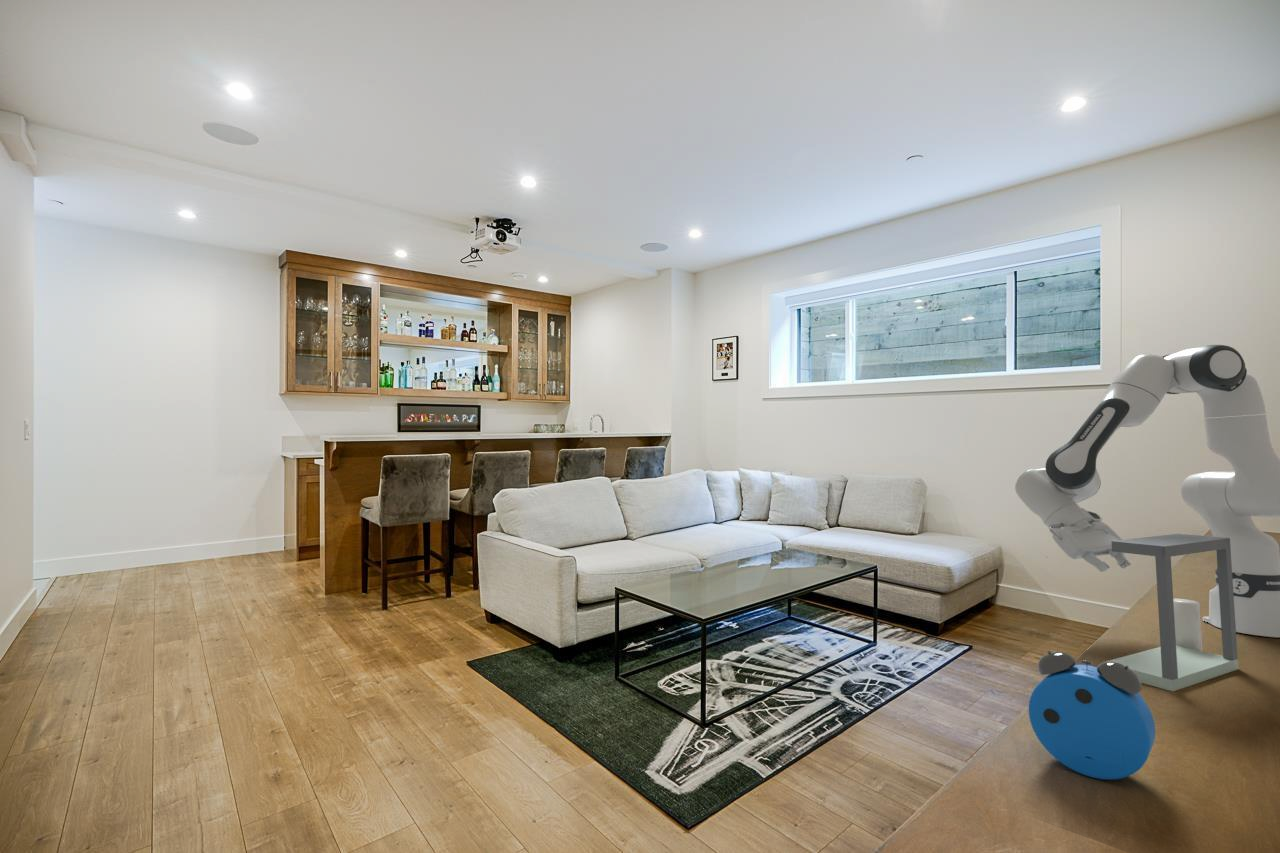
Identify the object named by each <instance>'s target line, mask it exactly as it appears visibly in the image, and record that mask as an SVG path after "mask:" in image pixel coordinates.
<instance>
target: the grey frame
mask: <svg viewBox="0 0 1280 853" xmlns="http://www.w3.org/2000/svg"><path fill="white" fill-rule="evenodd" d="M1111 543H1112V551H1113V552H1122V553H1123V554H1132V555H1141V556H1150V557H1154V558H1155V571H1156V575H1155V576H1156V590H1157V610H1158V622H1159V623H1158V624H1159V625H1158V626H1159V627H1158V628H1159V639H1160V640H1159V641H1160V645H1159V646H1157V647H1154V648H1150V649H1147V650H1143V651H1140V652H1139V651H1138V652H1136V653H1132V654H1127V655H1125V656H1121V657H1116V658H1113V659H1110V660H1108V661H1112V662H1117V663H1120V664H1123V665H1125V666H1126V665H1127V666H1128V667H1129V668H1130V669H1131V670H1132V671H1133V672H1134V673H1135V674H1136V675H1137V676H1138V677H1139V679H1140V681H1141V684H1144V685H1148V686H1152V687H1156V688H1159V689H1163V690H1167V691H1169V692H1175V691H1178V690H1183V689H1184V688H1188V687H1190V686H1193V685H1196V684H1199V683H1203V682H1205V681H1207V680H1211V679H1214V678H1217V677H1221V676H1223V675H1225V674H1229V673H1230V672H1231V673H1232V672H1234V671H1237V670H1239V660H1238V658H1239V657H1238V656H1239V654H1238V644H1237V643H1238V642H1237V641H1238V640H1237V632H1236V624H1235V609H1234V594H1233V578H1232V563H1231V548H1230V538H1223V537H1213V536H1210V535H1207V536H1206V535H1197V534H1183V533H1172V534H1165V535H1164V534H1162V535H1154V536H1147V537H1145V536H1144V537H1136V538H1126V539H1122V540H1117V541H1111ZM1212 551H1215V553H1217V556H1216V563H1217V564H1216V565H1217V566H1216V567H1217V568H1218V584H1219V599H1220V615H1221V628H1220V629H1221V631H1220V632H1221V644H1222V645H1221V646H1222V655H1221V654H1217V653H1213V652H1208V651H1205V650H1204V651H1203V650H1202V651H1199V650H1195V649H1190V648H1185V647H1181V646H1176V637H1175V620H1174V603H1173V598H1174V590H1173V589H1174V588H1173V587H1174V586H1173V575H1172V574H1173V572H1172V571H1173V570H1172V557H1177V556H1178V557H1179V556H1186V555H1192V554H1198V553H1205V552H1212ZM1217 568H1216V569H1217Z"/></svg>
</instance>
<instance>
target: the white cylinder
mask: <svg viewBox="0 0 1280 853" xmlns="http://www.w3.org/2000/svg"><path fill="white" fill-rule="evenodd" d="M1173 603H1174V620H1175V637H1176V646H1181V647H1185V648H1190V649H1195V650H1199V651H1203V640H1202V638H1203V637H1202V627H1201V626H1202V622H1201V608H1200V607H1201V606H1200V602H1198V601H1196V600H1192V599H1187V598H1185V599H1184V598H1177V597H1175V598H1174V597H1173Z"/></svg>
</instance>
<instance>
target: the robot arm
mask: <svg viewBox="0 0 1280 853" xmlns="http://www.w3.org/2000/svg"><path fill="white" fill-rule="evenodd" d="M1247 372H1248V371H1247V368H1246V362H1245V360H1244V358H1243V356H1242V355H1241V354H1240V352H1239V351H1238V350H1237V349H1236V348H1234V347H1231V346H1229V345H1224V344H1208V345H1207V344H1206V345H1204V346H1198V347H1192V348H1191V347H1190V348H1187V349H1183V350H1181V351H1178V352H1174V353H1171V354H1166V355H1164V356H1160V355H1157V354H1151V353H1149V354H1148V353H1146V354H1140V355H1137V356H1136V357H1134V358H1133V359H1131V360H1130V361H1129V362H1128V363H1127V364H1126V365H1125V366H1124V367H1123V368H1122V369H1121V371H1120V372H1119V373H1118V374H1117V375H1116V376H1115V378H1114V379H1113V381H1112V382H1111V383H1110V385H1109V386H1108V387H1107V389H1106V390H1105V392H1104V394H1103V396H1102V397H1101V398H1100V401H1099V402H1098V404H1097V406H1096V407H1095V409H1094V410H1092V413H1091V414H1090V415H1089V416H1088V417H1087V419H1086V420H1085V421H1084V422H1083V424H1082V425H1081V427H1080V428H1079V429H1078V430H1077V432H1076V433H1075V434H1074V435H1073V437H1072V438H1071V439H1070V440H1069V441H1067V443H1065V444H1064V445H1062V446H1061V447H1059V448H1057V449H1055V450H1054V451H1053V452H1052V453H1051V454H1050V455H1049V456H1048V458H1047V459H1046V462H1045V468H1039V469H1038V468H1037V469H1036V468H1030V469H1028V470H1026V471H1024V472H1023V473H1022V474H1021V475H1020V476H1019V477H1018V479H1017V480H1016V483H1015V485H1014V487H1015V488H1014V489H1015V493H1016V494H1017V497H1018V498H1019V499H1020V500H1021V501H1022V502H1023V504H1024V505H1025V506H1026V507H1027V508H1028V509H1029V510H1030V511H1031V512H1032V513H1034V514H1035V515H1036V516H1038V517H1039V518H1040V519H1041V520H1042V522H1043V524H1044V525H1045V526H1046V527H1047V528H1048V529H1049V532H1050V533H1051V534H1052V539H1053V541H1054V542H1055V544H1056V545H1057V546H1058V547H1059V549H1061V550H1062V551H1063V552H1064V553H1065V554H1066V556H1068V557H1069V558H1071V559H1073V560H1078V559H1083V560H1084V561H1085V562H1087V563H1088V564H1090V565H1092V566H1093V567H1095V568H1096V569H1097V570H1098V571H1099V572H1101V573H1102V572H1107V571H1108V570H1109V569H1110V565H1109V564H1107V563H1106V562H1105V561H1102V560H1101V559H1099V557H1102V556H1111V557H1112V558H1114V559H1115V560H1116V562H1117V563H1116V564H1117V565H1118V567H1120V568H1122V569H1127V568H1128V569H1129V567H1130V566H1131V565H1132V563H1131V562H1130V561H1129V560H1128V559H1127V557H1126V555H1125V553H1122V552H1113V551H1112V543H1111V541H1117V540H1123V538H1122V537H1121V536H1120V535H1118V534H1117V532H1116V531H1115V530H1114V529H1113V528H1111V527H1110V526H1109V525H1108V524H1107V523H1106V522H1104V521H1103V517H1101V516H1100V514H1098V513H1096V512H1093V511H1089V510H1088V509H1085V508H1082V507H1081V506H1080V505H1079V504H1078V503H1080V502H1083V501H1085V500H1087V499H1089V498H1092V497H1093V496H1095V495H1096V494H1097V492H1098V491H1099V490H1100V488H1101V483H1102V482H1101V478H1100V474H1099V472H1098V469H1097V458H1098V455H1099V454H1100V452H1101V451H1102V450H1103V448H1104V447H1105V445H1106V444H1107V443H1108V442H1109V440H1110V439H1111V437H1112V436H1113V435H1114V433H1115V432H1117V430H1119V429H1120V428H1133V427H1137V426H1140V425H1143V423H1144V422H1145V421H1147V419H1148V418H1150V416H1151V415H1153V413H1154V412H1155V411H1156V409H1157V408H1158V406H1160V403H1161V402H1162V401H1163V399H1164V398H1165V396H1166V394H1168V395H1178V394H1192V393H1197V395H1198V396H1199V397H1200V398H1201V400H1202V403H1203V417H1204V427H1205V436H1206V438H1205V439H1206V444H1207V447H1208V449H1209V450H1210V451H1211V452H1213V453H1214V454H1216V455H1218V456H1221V457H1223V458H1225V459H1226V460H1227V462H1229V463H1230V465H1231V466H1232V469H1233V470H1232V471H1231V470H1230V471H1229V470H1228V471H1227V470H1224V471H1223V470H1221V471H1220V470H1219V471H1218V470H1212V471H1211V470H1210V471H1204V472H1199V473H1193V474H1190V475H1189V476H1187V477H1186V478H1185V479H1184V480H1183V482H1182V485H1181V486H1180V487H1181V488H1180V492H1181V497H1182V500H1183V501H1184V503H1185V504H1186V505H1187V506H1188V507H1190V508H1191V509H1192V510H1194V511H1195V512H1196V513H1197V514H1198V515H1200V516H1201V518H1202V519H1203V520H1204V521H1205V523H1206V526H1208V528H1209V530H1210V532H1211V534H1212V537H1223V538H1230V548H1231V563H1232V578H1233V594H1234V609H1235V624H1236V633H1241V634H1245V635H1246V634H1247V635H1252V636H1261V637H1269V638H1280V546H1279V543H1278V542H1277V540H1276V539H1275V538H1274V537H1273V536H1271V535H1270V534H1267V533H1265V532H1263V531H1262V530H1261V529H1260V528H1259V527H1258V526H1257V525H1256V524H1255V522H1254V520H1253V518H1252V517H1265V518H1280V458H1279V456H1278V455H1277V453H1276V451H1275V450H1274V448H1273V445H1272V442H1271V438H1270V435H1269V434H1270V433H1269V428H1268V421H1267V412H1266V407H1265V403H1264V398H1263V394H1262V392H1261V388H1260V386H1259V384H1258V381H1257V379H1256V378H1255V377H1254V376H1253V375H1251V374H1247ZM1215 553H1216V552H1215ZM1215 557H1217V553H1216V556H1215ZM1214 571H1215V573H1214V578H1215V583H1216V584H1217V585H1216V586H1215V587H1214V588H1212V589H1210V590H1209V599H1208V600H1209V601H1208V602H1209V603H1208V604H1209V605H1208V615H1207V616H1206V615H1205V616H1203V617H1202V620H1203V622H1204V621H1205V623H1207V622H1208V624H1211V625H1212V626H1214V627H1216V628H1219V629H1221V615H1220V599H1219V584H1218V568H1216V569H1215V570H1214Z"/></svg>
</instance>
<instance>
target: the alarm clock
mask: <svg viewBox="0 0 1280 853" xmlns="http://www.w3.org/2000/svg"><path fill="white" fill-rule="evenodd" d="M1081 663H1082V664H1078V661H1077V660H1076V659H1075V658H1074V657H1073V656H1072V655H1071V654H1069V653H1067V652H1063V651H1052V652H1051V651H1050V650H1048V651H1047V653H1046V654H1044V655H1042V656H1041V657H1040V658H1039V660H1038V662H1037V670H1038V672H1039V674H1040V675H1042V676H1044V675H1046V676H1045V677H1044V678H1043V679H1042V680H1041V681H1040V682H1039V683H1038V684H1037V685H1036V686H1035V688H1034V689H1033V690H1032V692H1031V695H1030V697H1029V702H1028V717H1029V721H1030V725H1031V728H1032V729H1033V732H1034V734H1035V736H1036V737H1037V738H1036V739H1038V741H1039V742H1040V744H1041V745H1042V746H1043V747H1044V748H1045V750H1046V751H1047V752H1048V753H1049V754H1050V755H1051V756H1052V757H1053V758H1054V759H1056V760H1057V761H1058V762H1059V763H1060V764H1062V765H1064V766H1065V767H1067V768H1068V769H1070V770H1073V771H1074V772H1076V773H1079V774H1081V775H1083V776H1087V777H1090V778H1094V779H1098V780H1119V779H1120V780H1121V779H1124V778H1127V777H1129V776H1130V777H1131V775H1134V774H1135V773H1137V772H1138V771H1140V769H1141V768H1142V767H1143V766H1144V765H1145V764H1146V763H1147V760H1148V758H1149V756H1150V753H1151V750H1152V747H1153V745H1154V743H1155V737H1156V723H1155V720H1154V716H1153V715H1152V712H1151V709H1150V707H1149V706H1148V704H1147V702H1146V701H1145V699H1144V698H1143V696H1141V694H1140V693H1141V691H1142V686H1143V685H1142V684H1143V683H1141V681H1140V679H1139V677H1138V676H1137V675H1136V674H1135V673H1134V672H1133V671H1132V670H1131V669H1130V668H1129V667H1128V666H1127V665H1126V666H1125V665H1123V664H1120V663H1117V662H1112V661H1109V660H1106V661H1103V662H1101V663H1099V664H1098V665H1097V666H1093V665H1092V661H1091V660H1085V659H1084V660H1083V659H1082V661H1081Z"/></svg>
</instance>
